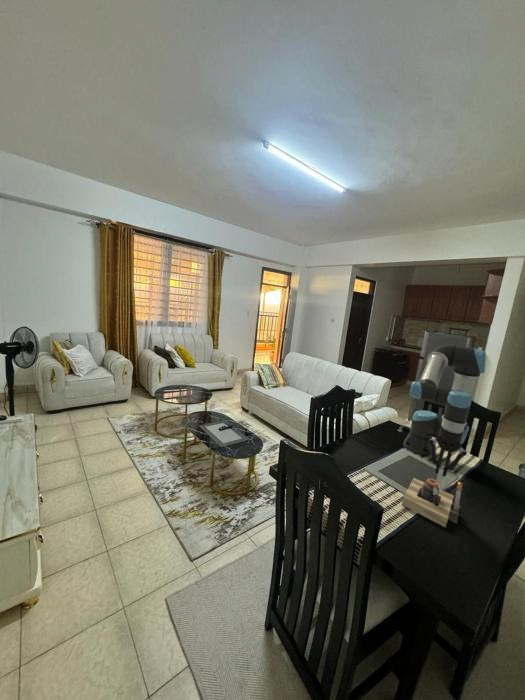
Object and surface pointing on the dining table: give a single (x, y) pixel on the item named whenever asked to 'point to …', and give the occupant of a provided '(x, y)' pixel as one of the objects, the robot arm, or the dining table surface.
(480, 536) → the dining table surface
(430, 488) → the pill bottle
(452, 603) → the dining table surface
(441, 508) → the block
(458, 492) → the ring bar
